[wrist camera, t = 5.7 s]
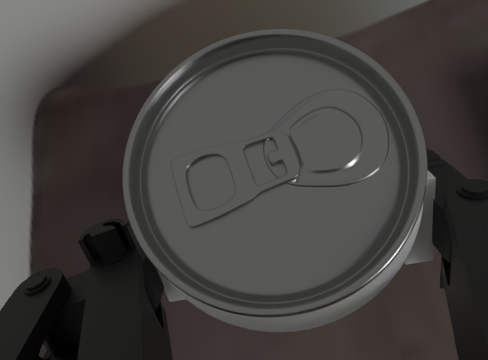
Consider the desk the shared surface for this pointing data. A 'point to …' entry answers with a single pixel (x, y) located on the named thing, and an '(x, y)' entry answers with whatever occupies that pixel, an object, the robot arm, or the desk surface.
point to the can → (276, 179)
